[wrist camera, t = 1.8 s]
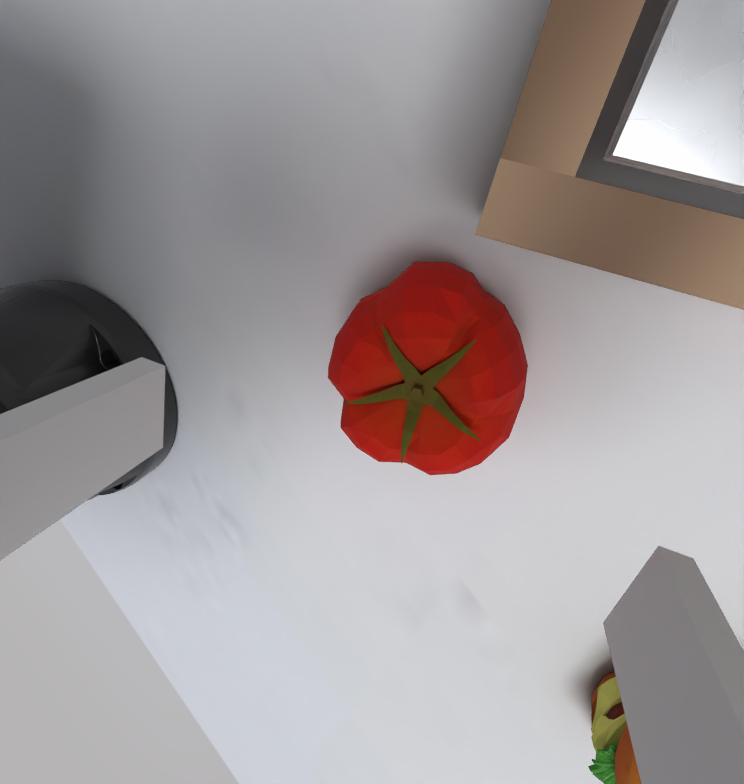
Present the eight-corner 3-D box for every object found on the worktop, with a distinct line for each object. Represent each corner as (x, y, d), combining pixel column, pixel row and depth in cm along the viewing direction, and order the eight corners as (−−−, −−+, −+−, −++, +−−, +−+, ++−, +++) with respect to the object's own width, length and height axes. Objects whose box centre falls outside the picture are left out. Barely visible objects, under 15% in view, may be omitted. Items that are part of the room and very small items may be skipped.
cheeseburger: (562, 734, 32) (593, 909, 22) (592, 603, 30) (641, 731, 20) (721, 787, 29) (833, 1006, 20) (765, 647, 28) (912, 816, 18)
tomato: (500, 438, 25) (500, 524, 18) (351, 403, 26) (299, 469, 20) (549, 269, 21) (571, 297, 14) (369, 240, 22) (314, 254, 16)
